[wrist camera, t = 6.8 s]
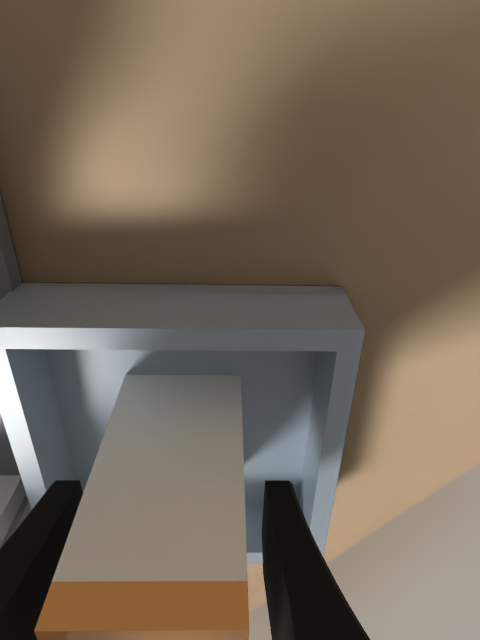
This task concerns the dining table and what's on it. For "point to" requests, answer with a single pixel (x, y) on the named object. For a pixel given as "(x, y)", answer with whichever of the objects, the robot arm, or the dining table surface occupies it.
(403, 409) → the dining table surface
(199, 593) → the block
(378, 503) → the dining table surface
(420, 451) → the dining table surface
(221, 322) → the tray
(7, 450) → the board
